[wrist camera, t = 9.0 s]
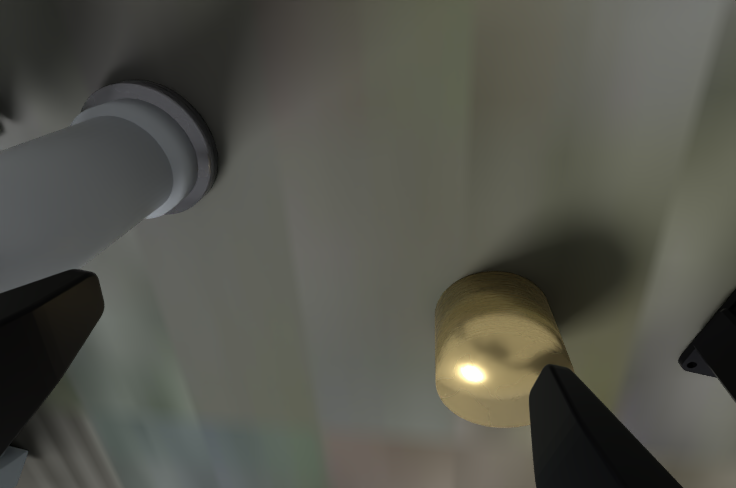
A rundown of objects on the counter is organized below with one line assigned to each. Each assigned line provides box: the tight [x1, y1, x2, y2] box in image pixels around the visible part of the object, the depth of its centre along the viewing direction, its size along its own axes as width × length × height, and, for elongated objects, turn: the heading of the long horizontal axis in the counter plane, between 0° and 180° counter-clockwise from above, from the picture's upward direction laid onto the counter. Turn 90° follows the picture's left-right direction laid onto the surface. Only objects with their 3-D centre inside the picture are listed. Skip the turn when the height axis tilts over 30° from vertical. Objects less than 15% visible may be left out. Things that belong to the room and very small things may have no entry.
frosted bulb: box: [0, 98, 198, 293], centre depth 15 cm, size 5×5×13 cm
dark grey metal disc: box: [81, 80, 218, 214], centre depth 21 cm, size 7×7×1 cm
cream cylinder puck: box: [435, 271, 575, 428], centre depth 22 cm, size 6×6×5 cm
